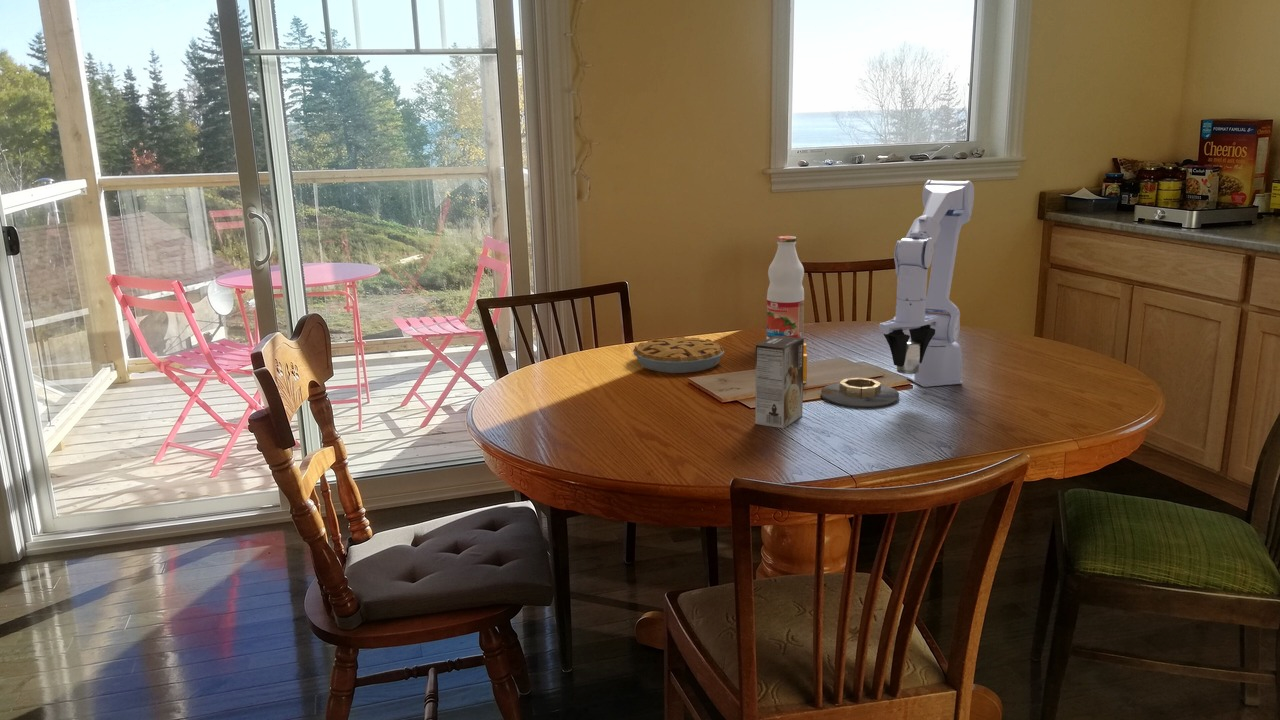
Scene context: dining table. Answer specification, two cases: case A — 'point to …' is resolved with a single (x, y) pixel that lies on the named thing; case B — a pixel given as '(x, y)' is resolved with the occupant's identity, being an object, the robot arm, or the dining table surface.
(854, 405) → the ring collar
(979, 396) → the dining table surface
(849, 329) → the dining table surface
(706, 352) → the pie
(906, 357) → the piston
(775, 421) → the coffee box
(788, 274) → the fruit juice
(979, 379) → the dining table surface
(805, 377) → the pipe clamp
